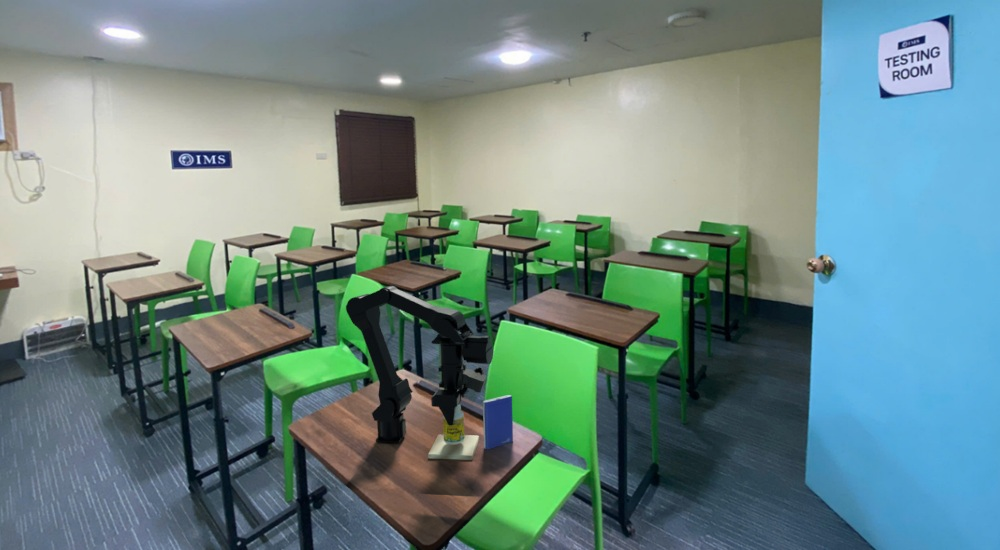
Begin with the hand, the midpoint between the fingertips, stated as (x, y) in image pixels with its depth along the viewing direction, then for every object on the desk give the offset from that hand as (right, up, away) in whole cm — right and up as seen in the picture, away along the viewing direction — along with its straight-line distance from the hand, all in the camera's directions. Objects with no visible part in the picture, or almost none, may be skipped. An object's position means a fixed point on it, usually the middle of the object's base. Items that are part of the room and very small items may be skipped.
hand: (453, 420), depth 120 cm
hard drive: (+12, -7, +2) cm, 14 cm away
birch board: (0, -8, +1) cm, 8 cm away
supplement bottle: (0, -6, 0) cm, 6 cm away
